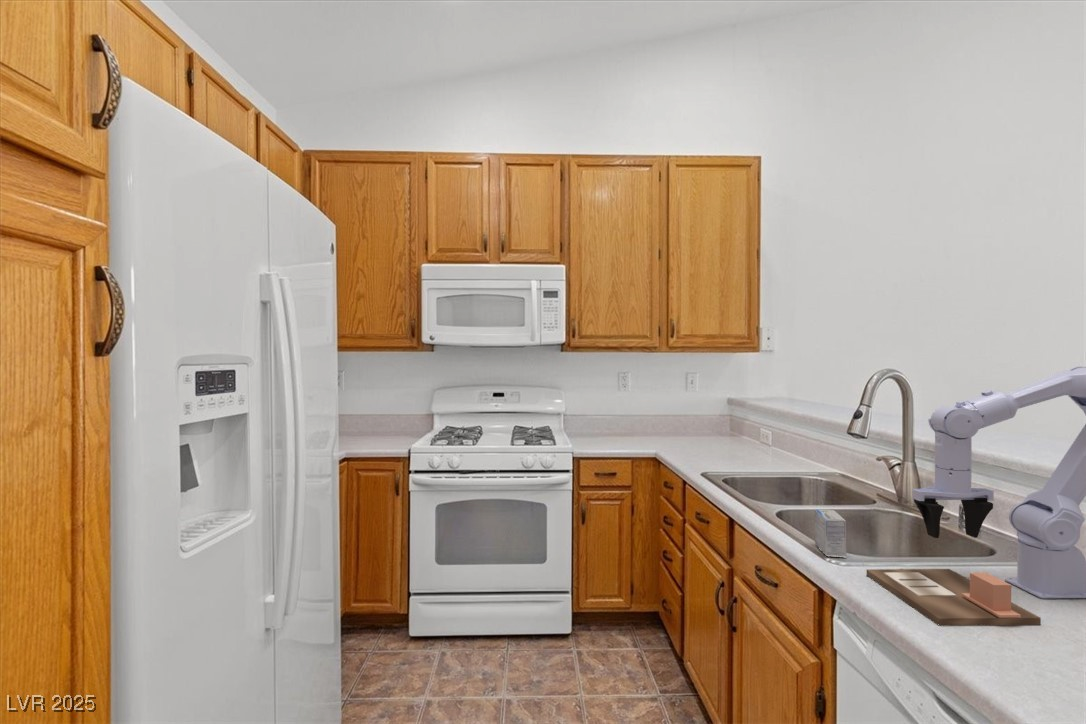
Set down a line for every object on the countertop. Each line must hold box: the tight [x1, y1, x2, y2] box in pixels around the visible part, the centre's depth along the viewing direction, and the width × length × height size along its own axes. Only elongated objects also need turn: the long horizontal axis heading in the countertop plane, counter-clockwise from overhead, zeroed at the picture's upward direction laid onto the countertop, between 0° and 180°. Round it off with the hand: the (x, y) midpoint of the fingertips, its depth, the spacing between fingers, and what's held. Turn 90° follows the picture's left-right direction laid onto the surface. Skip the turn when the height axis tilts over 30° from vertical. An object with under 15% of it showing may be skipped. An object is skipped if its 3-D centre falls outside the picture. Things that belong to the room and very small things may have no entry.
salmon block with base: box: [961, 572, 1021, 618], centre depth 92 cm, size 4×8×5 cm, turn 0°
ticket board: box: [866, 568, 1042, 626], centre depth 99 cm, size 17×20×2 cm
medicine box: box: [814, 509, 847, 557], centre depth 122 cm, size 8×4×9 cm, turn 168°
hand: (952, 536), depth 104 cm, fingers open, 7 cm apart
